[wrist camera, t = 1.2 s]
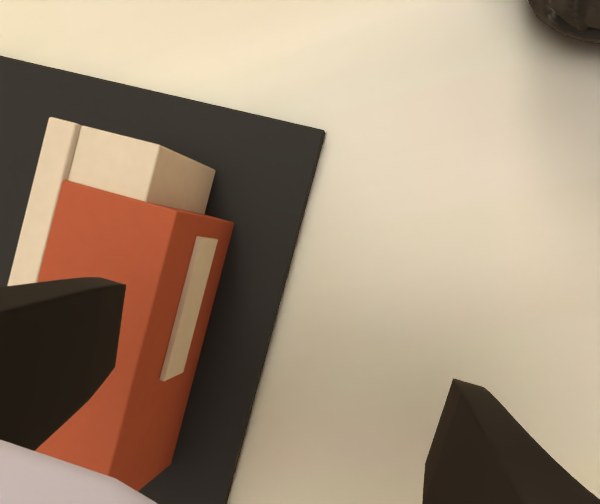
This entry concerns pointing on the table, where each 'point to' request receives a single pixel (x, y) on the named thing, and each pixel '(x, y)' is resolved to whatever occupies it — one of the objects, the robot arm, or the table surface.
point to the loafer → (571, 17)
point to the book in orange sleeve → (127, 284)
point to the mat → (221, 204)
